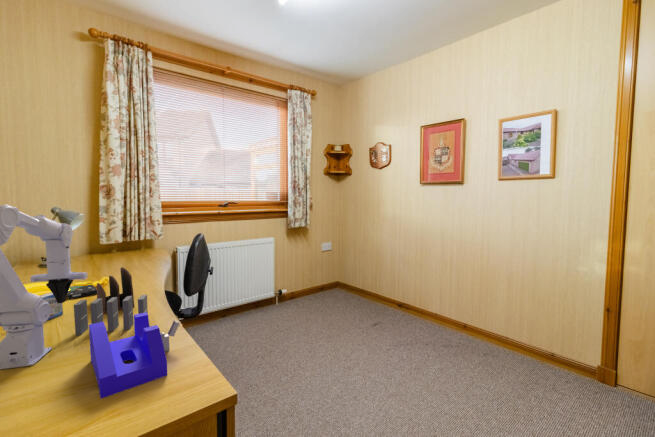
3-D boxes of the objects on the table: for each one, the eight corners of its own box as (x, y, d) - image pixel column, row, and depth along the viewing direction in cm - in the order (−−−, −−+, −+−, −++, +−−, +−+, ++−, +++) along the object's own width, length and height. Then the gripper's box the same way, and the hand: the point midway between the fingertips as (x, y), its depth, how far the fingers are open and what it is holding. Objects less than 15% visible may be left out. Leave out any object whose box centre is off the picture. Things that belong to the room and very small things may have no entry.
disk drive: (98, 295, 141) (91, 288, 152) (97, 289, 141) (91, 282, 151) (68, 301, 134) (63, 293, 144) (68, 294, 134) (63, 287, 144)
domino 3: (113, 331, 104) (112, 301, 103) (107, 331, 103) (106, 302, 102) (118, 325, 108) (117, 297, 108) (113, 325, 108) (111, 297, 107)
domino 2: (97, 333, 102) (96, 303, 102) (91, 333, 102) (90, 303, 101) (103, 326, 107) (102, 298, 106) (98, 327, 107) (96, 298, 106)
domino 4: (129, 329, 105) (127, 300, 104) (123, 330, 104) (122, 300, 104) (133, 323, 110) (132, 295, 109) (128, 324, 109) (126, 296, 108)
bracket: (90, 362, 85) (88, 324, 85) (147, 346, 94) (146, 312, 94) (100, 400, 70) (98, 354, 69) (167, 376, 79) (165, 336, 78)
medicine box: (40, 323, 110) (38, 298, 109) (30, 321, 111) (28, 298, 110) (63, 314, 118) (62, 291, 117) (54, 313, 119) (52, 291, 118)
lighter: (153, 354, 89) (152, 327, 88) (152, 352, 90) (151, 325, 90) (180, 347, 93) (179, 321, 93) (179, 344, 95) (178, 319, 94)
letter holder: (124, 295, 140) (122, 264, 139) (134, 308, 125) (133, 273, 124) (96, 301, 133) (94, 268, 132) (104, 314, 118) (102, 277, 117)
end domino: (144, 328, 106) (143, 299, 106) (138, 328, 106) (137, 299, 105) (148, 322, 111) (146, 294, 110) (142, 322, 111) (141, 295, 110)
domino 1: (81, 334, 101) (79, 304, 100) (75, 335, 101) (73, 305, 100) (88, 328, 106) (86, 299, 105) (82, 328, 105) (80, 299, 105)
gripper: (91, 257, 105) (93, 296, 107) (39, 259, 102) (42, 299, 103) (80, 261, 99) (82, 303, 100) (24, 263, 95) (28, 307, 96)
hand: (61, 302), depth 101 cm, fingers closed
